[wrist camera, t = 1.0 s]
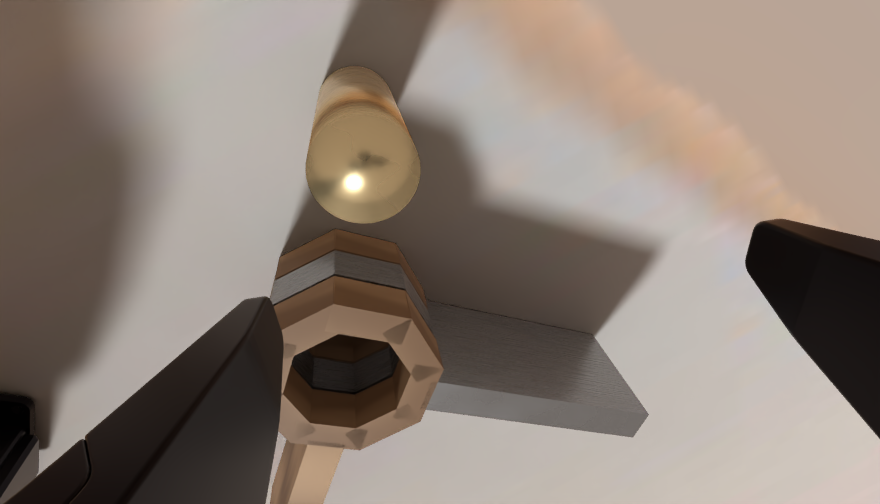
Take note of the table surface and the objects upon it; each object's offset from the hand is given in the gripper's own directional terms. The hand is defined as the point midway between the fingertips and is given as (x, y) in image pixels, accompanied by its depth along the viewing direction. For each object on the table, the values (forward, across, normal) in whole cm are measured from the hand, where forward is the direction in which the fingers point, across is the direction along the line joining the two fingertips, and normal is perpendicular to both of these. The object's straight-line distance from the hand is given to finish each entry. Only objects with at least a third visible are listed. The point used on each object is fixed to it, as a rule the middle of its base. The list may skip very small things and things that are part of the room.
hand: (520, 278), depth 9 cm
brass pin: (+13, +3, 0) cm, 14 cm away
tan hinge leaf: (+13, +7, +13) cm, 20 cm away
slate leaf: (+13, 0, +11) cm, 17 cm away
